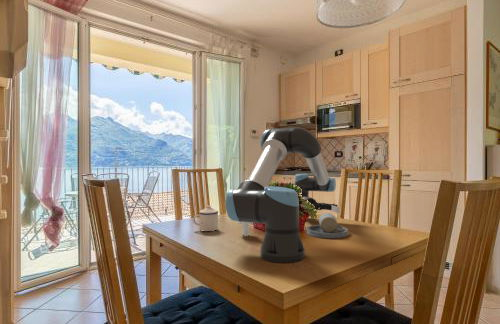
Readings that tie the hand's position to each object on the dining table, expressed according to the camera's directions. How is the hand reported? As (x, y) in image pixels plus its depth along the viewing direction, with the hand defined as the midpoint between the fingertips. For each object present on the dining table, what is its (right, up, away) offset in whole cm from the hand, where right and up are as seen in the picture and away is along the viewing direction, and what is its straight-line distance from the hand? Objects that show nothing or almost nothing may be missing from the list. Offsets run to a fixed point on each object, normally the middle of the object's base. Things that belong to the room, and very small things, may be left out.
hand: (324, 210), depth 137 cm
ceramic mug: (+2, -9, -5) cm, 10 cm away
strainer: (-36, -10, -5) cm, 38 cm away
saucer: (0, -9, -4) cm, 10 cm away
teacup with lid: (-55, -10, +6) cm, 56 cm away
